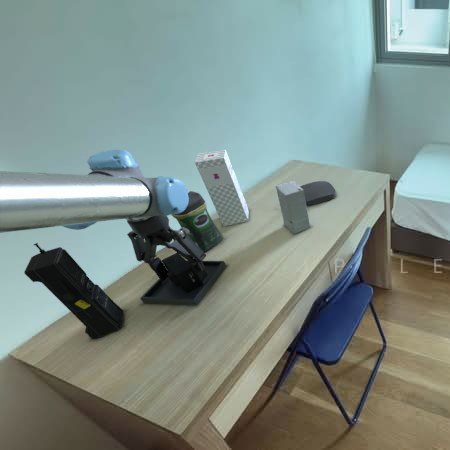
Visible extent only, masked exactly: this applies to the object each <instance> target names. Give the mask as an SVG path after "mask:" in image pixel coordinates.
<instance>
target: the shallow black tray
mask: <svg viewBox="0 0 450 450" xmlns="http://www.w3.org/2000/svg"><path fill="white" fill-rule="evenodd" d="M185 260H186V261H188V260H187V259H185ZM188 262H189V261H188ZM189 263H190V264H191V262H189ZM202 263H203V264H204V266H205V271H206V273H207V277H206V278H205V279H204V280H203V282H202V283H203V285H201V286H199V287H197V288H196V289H194V290H192V291H191V292H189V293H187V292H186V291H185V290H184V289H183V288H182V287H181V286H180V285H179V286H178V287H176V286H175V285H174V284H173V283H172V281H171V280H170V279H169V277H167V278H166V279H165V280H164V281H161V280H160V279H159V278H158V279H157V280H156V281H155V282H154V283H153V284H152V285H151V287H149V288H148V290H146V292H145V293H144V294H142V295H141V297H140V298H139V299H140V301H141V302H142V303H143V304H144V305H145V304H146V305H148V304H149V305H180V306H181V305H182V306H198V305H199V304H200V301H201V300H203V298H204V296H206V294H207V293H208V291H209V290H210V289H211V287H212V286H213V285H214V283H215V282H216V281H217V280H218V279H219V277H220V276H221V274H222V273H223V272H224V271H225V270H226V268H227V264H226V261H225V260H202ZM167 271H168V270H167Z"/></svg>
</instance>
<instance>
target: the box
mask: <svg viewBox="0 0 450 450" xmlns="http://www.w3.org/2000/svg"><path fill="white" fill-rule="evenodd" d="M194 164H195V166H196V168H197V169H196V170H197V171H198V174H199V176H200V177H201V180H202V181H203V184H204V186H205V189H206V191H207V193H208V195H209V197H210V200H211V202H212V204H213V206H214V208H215V211H216V213H217V216H218V217H219V219H220V222H221V224H222V227H228V226H233V225H237V224H241V223H246V222H249V212H250V211H249V208H248V205H247V202H246V199H245V197H244V194H243V191H242V189H241V186H240V184H239V181H238V179H237V178H238V177H237V175H236V173H235V170H234V168H233V166H232V163H231V160H230V157H229V154H228V151H227V150H226V148H224V149H217V150H211V151H206V152H199V153H198V154H197V156H196V158H195V161H194Z"/></svg>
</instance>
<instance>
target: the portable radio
mask: <svg viewBox="0 0 450 450" xmlns="http://www.w3.org/2000/svg"><path fill="white" fill-rule="evenodd" d="M33 246H35V247H36V248H37V249H38V250H39V253H37V254H34V255H33V256H31V258H30V259H29V262H28V263H27V265H26V267H25V270H24V275H25V276H26V277H27V278H28V279H29V280H30V281H31V282H32V283H41V284H42V285H43V286H44V287H46V289H47V290H49V292H50V293H51V294H53V296H55V297H56V299H57V300H59V302H60V303H61V304H63V306H64V307H66V309H68V311H70V313H72V314H73V315H74V316H75V317H76V319H78V320H79V321H80V322H81V324H83V325H84V327H85V329H84V333H85V334H86V335H87V336H88V337H89V338H91V340H94V339H98V338H101V337H104V336H107V335H109V334H111V333H114V332H116V331H119V330H120V329H121V328H122V325H123V317H124V316H123V315H124V310H123V309H122V308H121V307H120V306H119V305H118V304H117V303H116V302H115V301H114V300H113V299H112V298H111V297H110V296H109V295H108V294H107V293H106V292H105V291H104V289H102V288H101V287H100V285H99V284H97V283H94V282H93V280H91V278H90V277H89V276H88V275H87V273H86V272H85V271H84V269H83V267H81V265H79V264H78V262H76V260H75V259H74V258H73V257H72V256H71V255H70V254H69V252H68V251H67V250H66V249H64V248H63V247H61V246H59V247H56V248H52V249H48V250H45V249H44V248H41V246H39V243H38V242H36V243H34V244H33Z"/></svg>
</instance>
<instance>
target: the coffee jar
mask: <svg viewBox="0 0 450 450" xmlns="http://www.w3.org/2000/svg"><path fill="white" fill-rule="evenodd" d="M188 197H189V202H188V206H187V208H186V209H185V210H184V211H183V212H182V213H179V214H172V215H171V216H172V217H173V218H174V219H175V220H176V221H177V223H178V224H179V226H180V229H181V228H183V229H184V230H185V232H186V233H187V235H188V236H189V237H190V238H191V239H192V241H193V242H194V243H195V244H196V245H197V246H198V247H199V248H200V249H201V250H202V251H203V252H204V253H205V252H207V251H209V250H210V249H212V248H214V247H215V246H217V245H218V244H219V243H221V241H222V240H223V235H222V233H221V231H220V230H219V228H218V227H217V224H215V222H214V220H213V219H212V217H211V215H210V214H209V212H208V208H207V202H206V200H205V199H204V198H203V196H202V195H201V194H200V193H199V192H197V191H191V190H190V191H188Z"/></svg>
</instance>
